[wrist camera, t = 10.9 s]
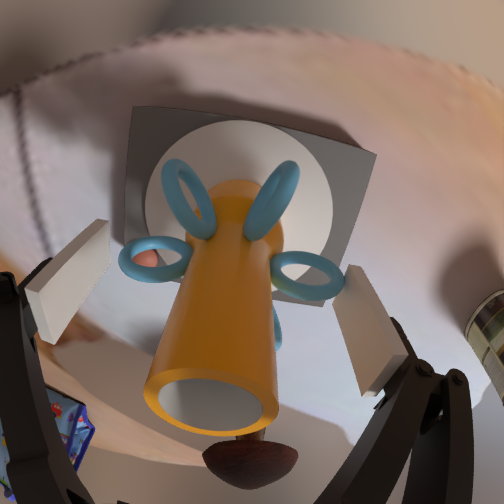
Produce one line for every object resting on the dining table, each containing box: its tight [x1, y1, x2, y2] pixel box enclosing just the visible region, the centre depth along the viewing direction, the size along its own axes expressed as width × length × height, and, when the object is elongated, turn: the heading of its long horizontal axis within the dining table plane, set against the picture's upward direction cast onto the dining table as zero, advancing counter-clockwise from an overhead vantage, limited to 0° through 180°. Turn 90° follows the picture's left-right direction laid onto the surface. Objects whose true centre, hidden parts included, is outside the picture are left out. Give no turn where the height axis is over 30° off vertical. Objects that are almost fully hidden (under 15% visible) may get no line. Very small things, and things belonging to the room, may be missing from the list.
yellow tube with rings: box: [118, 158, 344, 436], centre depth 14 cm, size 12×10×15 cm
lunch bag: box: [0, 388, 95, 501], centre depth 31 cm, size 22×14×29 cm, turn 75°
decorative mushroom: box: [202, 427, 298, 490], centre depth 29 cm, size 11×11×15 cm
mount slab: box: [124, 106, 377, 307], centre depth 22 cm, size 18×14×4 cm
